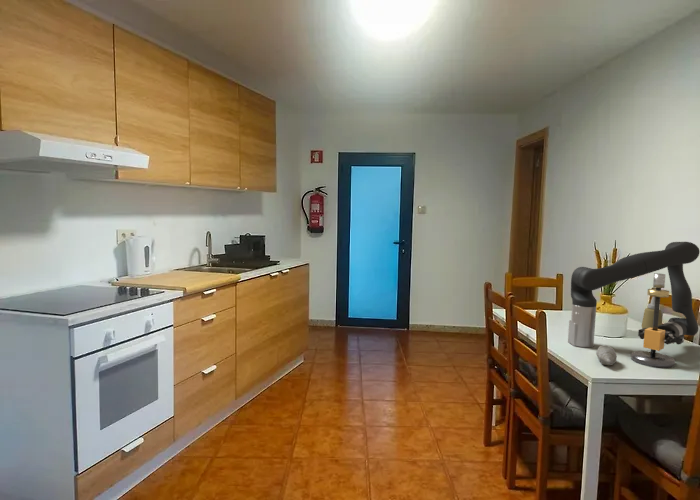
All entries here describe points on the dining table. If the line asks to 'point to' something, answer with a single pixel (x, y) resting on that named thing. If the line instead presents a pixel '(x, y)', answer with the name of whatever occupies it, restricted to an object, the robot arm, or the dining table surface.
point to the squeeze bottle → (650, 315)
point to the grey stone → (606, 355)
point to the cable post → (653, 357)
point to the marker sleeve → (654, 339)
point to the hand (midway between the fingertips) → (653, 338)
